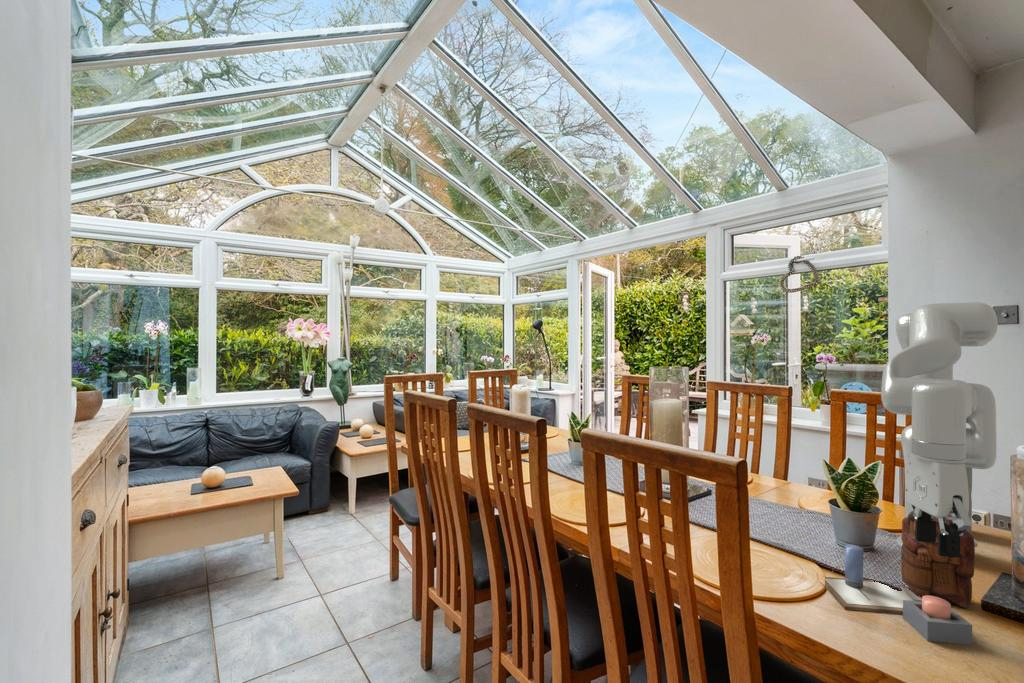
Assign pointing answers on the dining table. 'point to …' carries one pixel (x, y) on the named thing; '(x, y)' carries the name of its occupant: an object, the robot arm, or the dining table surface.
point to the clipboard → (869, 596)
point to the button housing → (937, 625)
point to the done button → (936, 607)
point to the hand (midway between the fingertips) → (936, 547)
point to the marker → (854, 566)
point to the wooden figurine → (937, 565)
